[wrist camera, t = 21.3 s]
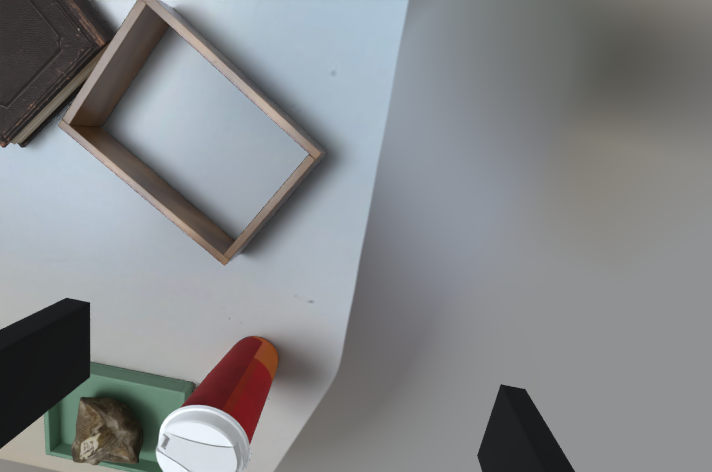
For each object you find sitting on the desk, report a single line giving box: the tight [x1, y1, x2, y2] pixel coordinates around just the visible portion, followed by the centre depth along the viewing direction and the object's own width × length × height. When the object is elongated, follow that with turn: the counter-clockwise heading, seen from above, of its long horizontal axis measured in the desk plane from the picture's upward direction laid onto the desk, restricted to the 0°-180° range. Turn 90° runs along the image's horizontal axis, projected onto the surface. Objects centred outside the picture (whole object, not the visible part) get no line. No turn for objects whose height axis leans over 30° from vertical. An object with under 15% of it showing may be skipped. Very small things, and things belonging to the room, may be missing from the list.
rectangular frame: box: [58, 0, 328, 265], centre depth 34 cm, size 20×15×4 cm
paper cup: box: [156, 336, 279, 472], centre depth 35 cm, size 8×8×14 cm
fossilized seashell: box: [71, 397, 144, 465], centre depth 42 cm, size 8×7×10 cm
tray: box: [44, 362, 193, 472], centre depth 44 cm, size 17×13×2 cm
